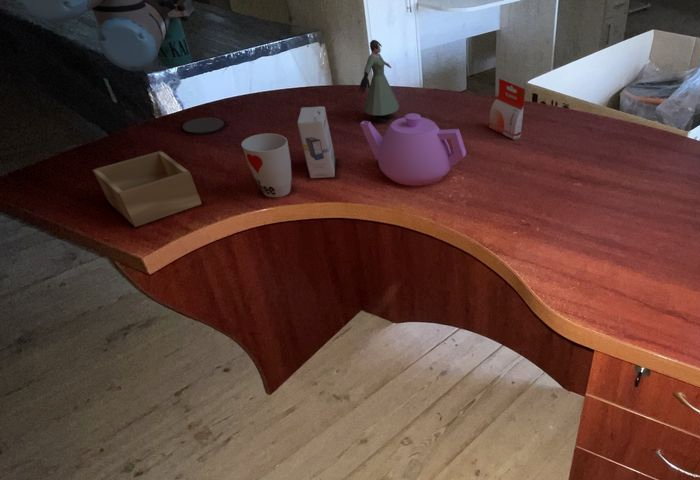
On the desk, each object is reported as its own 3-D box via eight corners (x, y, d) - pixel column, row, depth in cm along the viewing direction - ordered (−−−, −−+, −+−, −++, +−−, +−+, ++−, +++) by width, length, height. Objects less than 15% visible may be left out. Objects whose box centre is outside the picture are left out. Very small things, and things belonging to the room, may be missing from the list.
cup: (249, 188, 107) (234, 139, 100) (288, 177, 111) (276, 130, 104) (265, 205, 103) (251, 155, 96) (305, 193, 107) (294, 144, 100)
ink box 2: (513, 141, 130) (517, 91, 122) (488, 128, 135) (490, 80, 127) (522, 138, 131) (526, 89, 124) (497, 125, 136) (499, 77, 128)
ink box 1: (334, 178, 112) (324, 121, 104) (309, 179, 111) (296, 122, 103) (336, 160, 118) (326, 105, 110) (311, 160, 117) (300, 105, 109)
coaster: (176, 125, 127) (175, 123, 127) (213, 116, 132) (212, 114, 132) (194, 137, 123) (193, 135, 123) (231, 127, 128) (230, 125, 128)
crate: (108, 202, 101) (92, 169, 97) (173, 181, 108) (160, 150, 103) (135, 227, 96) (119, 194, 91) (202, 204, 102) (190, 172, 98)
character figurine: (382, 134, 129) (373, 53, 116) (351, 129, 130) (339, 47, 118) (409, 111, 140) (404, 34, 128) (380, 106, 141) (372, 30, 129)
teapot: (472, 162, 121) (473, 107, 112) (457, 195, 109) (457, 137, 101) (378, 150, 123) (372, 96, 114) (354, 182, 111) (345, 124, 103)
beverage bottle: (161, 66, 117) (120, -47, 103) (194, 63, 119) (159, -48, 105) (163, 75, 113) (121, -40, 99) (197, 72, 115) (161, -42, 101)
